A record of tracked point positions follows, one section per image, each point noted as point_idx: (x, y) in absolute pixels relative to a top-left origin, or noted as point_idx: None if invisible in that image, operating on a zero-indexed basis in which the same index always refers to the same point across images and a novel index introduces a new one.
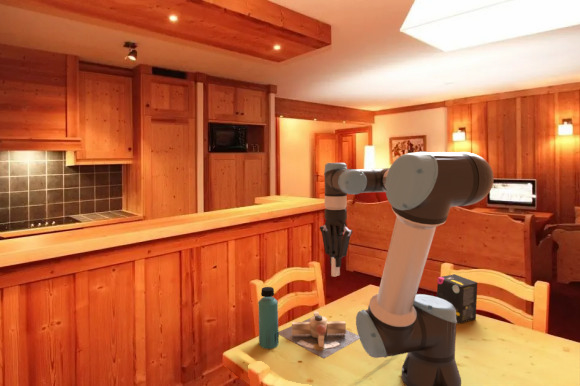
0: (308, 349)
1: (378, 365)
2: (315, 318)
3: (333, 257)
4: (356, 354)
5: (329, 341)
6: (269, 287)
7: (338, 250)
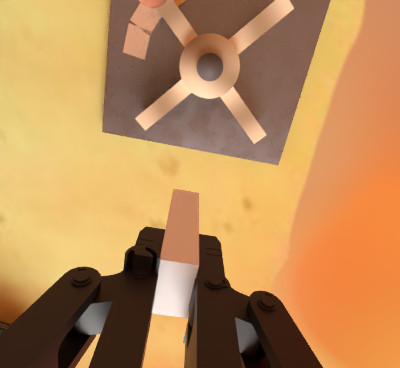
0: None
1: (4, 37)
2: (216, 54)
3: (183, 273)
4: (78, 54)
5: (159, 49)
6: None
7: (104, 334)
